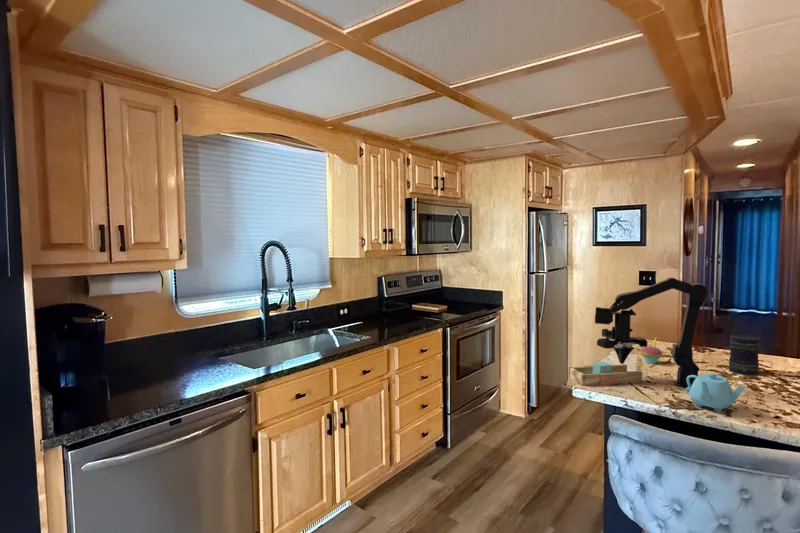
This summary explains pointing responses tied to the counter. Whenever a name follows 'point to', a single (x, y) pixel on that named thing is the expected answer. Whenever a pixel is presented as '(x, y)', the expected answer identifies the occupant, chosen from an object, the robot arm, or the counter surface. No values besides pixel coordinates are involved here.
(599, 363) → the block
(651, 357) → the cupcake
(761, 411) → the counter surface
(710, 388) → the teapot
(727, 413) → the counter surface
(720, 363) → the counter surface
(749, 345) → the storage jar
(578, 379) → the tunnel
